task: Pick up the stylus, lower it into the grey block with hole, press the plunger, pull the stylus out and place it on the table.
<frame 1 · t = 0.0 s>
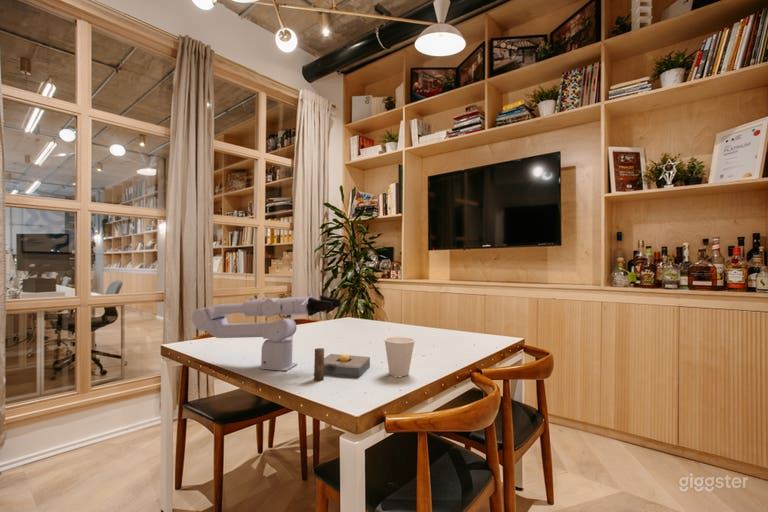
hand: (336, 304, 119), 22 cm above the table, tool horizontal, fingers open, 7 cm apart
grey block with hole: (344, 370, 121), on the table
cup: (398, 375, 118), on the table
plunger: (344, 359, 121), point 4 cm above the table, slide at 0.0 cm
stylus: (318, 379, 111), on the table
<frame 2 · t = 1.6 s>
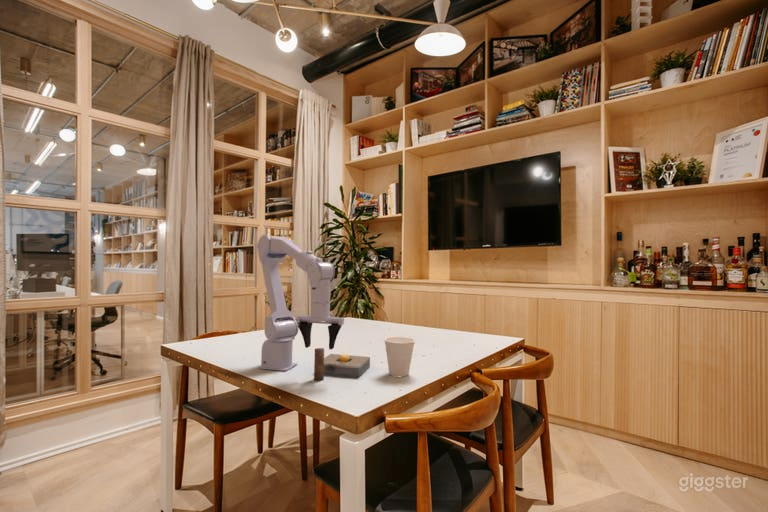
hand: (319, 347, 112), 9 cm above the table, tool pointing down, fingers open, 7 cm apart
nothing on the table moved.
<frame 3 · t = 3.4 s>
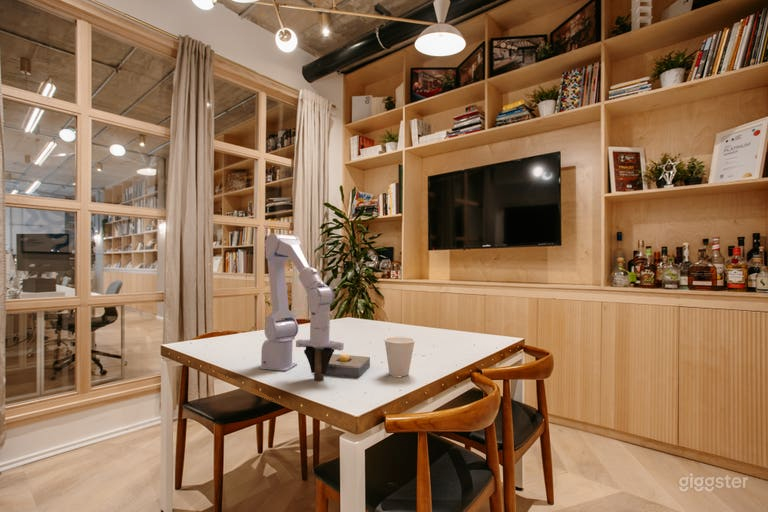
hand: (318, 372, 111), 2 cm above the table, tool pointing down, fingers closed on stylus, 3 cm apart
stylus: (318, 379, 111), on the table, touching gripper
everything else where it was.
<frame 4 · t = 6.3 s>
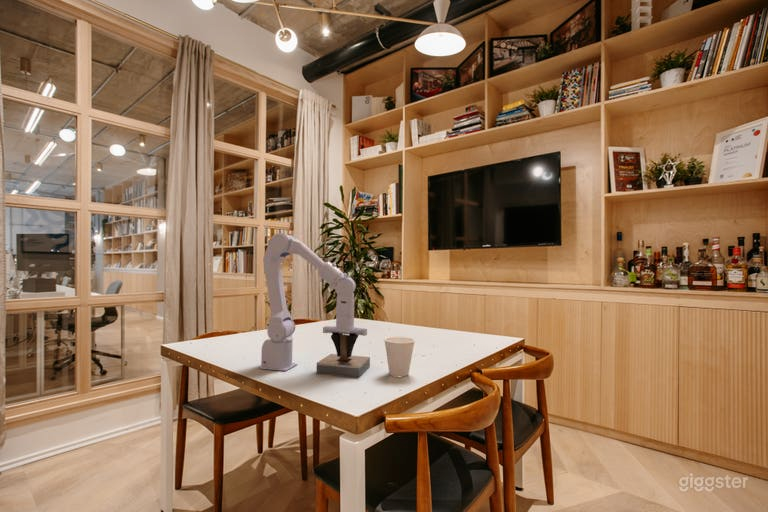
hand: (344, 356, 121), 5 cm above the table, tool pointing down, fingers closed on stylus, 3 cm apart
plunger: (344, 366, 121), point 1 cm above the table, slide at -2.3 cm, touching stylus
stylus: (344, 363, 121), point 2 cm above the table, touching gripper, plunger
everything else where it was.
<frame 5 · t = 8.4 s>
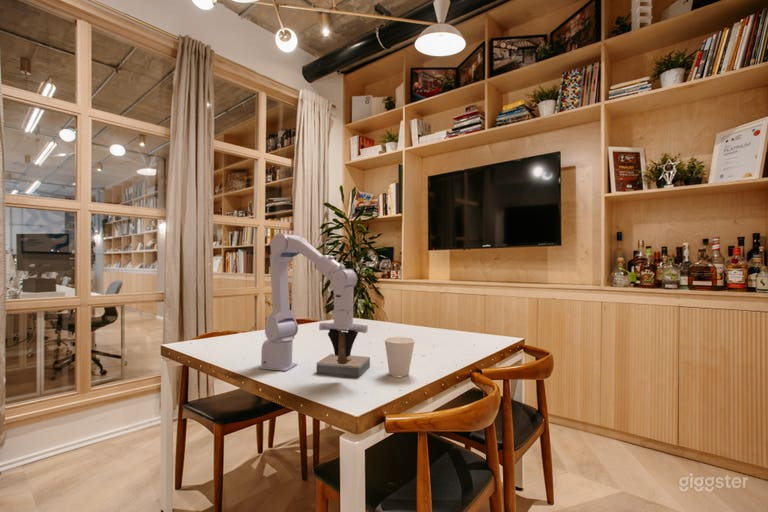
hand: (342, 355, 111), 7 cm above the table, tool pointing down, fingers closed on stylus, 3 cm apart
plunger: (344, 366, 121), point 1 cm above the table, slide at -2.3 cm
stylus: (342, 362, 111), point 5 cm above the table, touching gripper
everything else where it was.
when the fingers open (3 cm above the table, at t = 9.9 s): stylus stays where it is, on the table.
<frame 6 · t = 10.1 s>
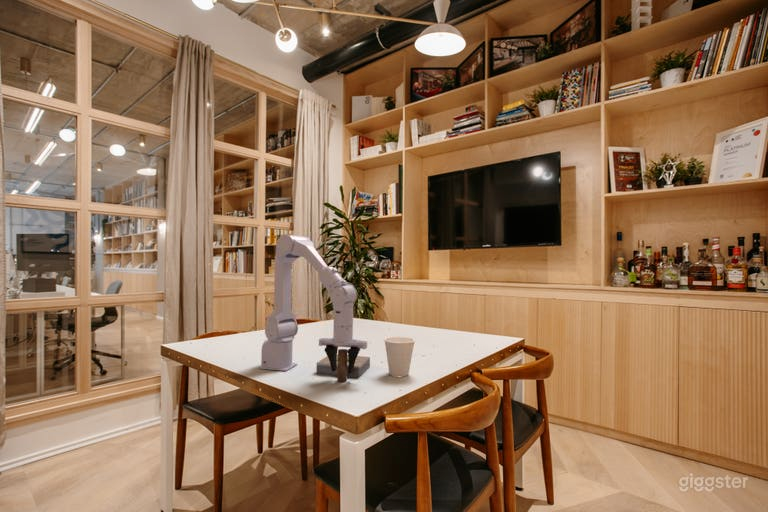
hand: (342, 371, 111), 3 cm above the table, tool pointing down, fingers open, 5 cm apart
stylus: (342, 380, 111), on the table
everything else where it was.
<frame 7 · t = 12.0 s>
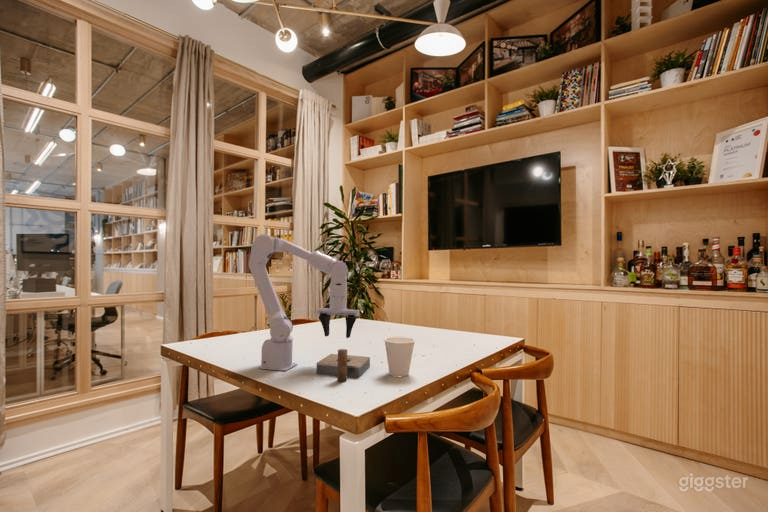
hand: (337, 336, 126), 10 cm above the table, tool pointing down, fingers open, 7 cm apart
nothing on the table moved.
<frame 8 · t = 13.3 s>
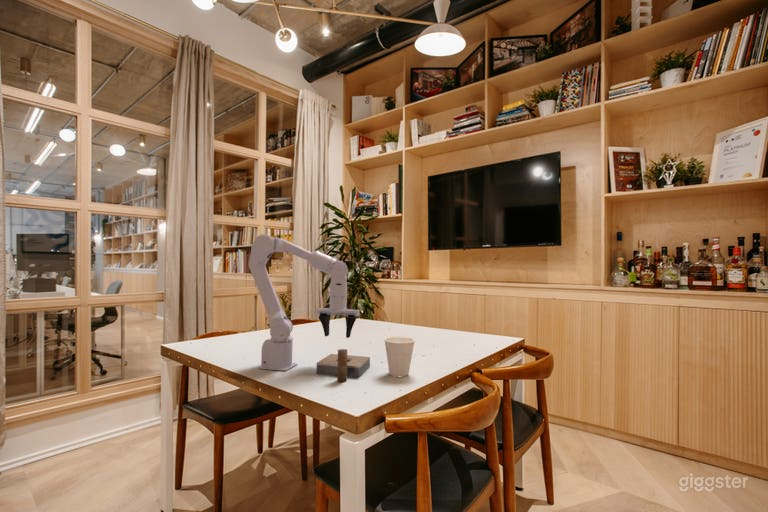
hand: (337, 336, 126), 10 cm above the table, tool pointing down, fingers open, 7 cm apart
nothing on the table moved.
at the end: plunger slide at -2.3 cm; the gripper is holding nothing; stylus inside the target area (0.0 cm from its centre), on the table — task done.
